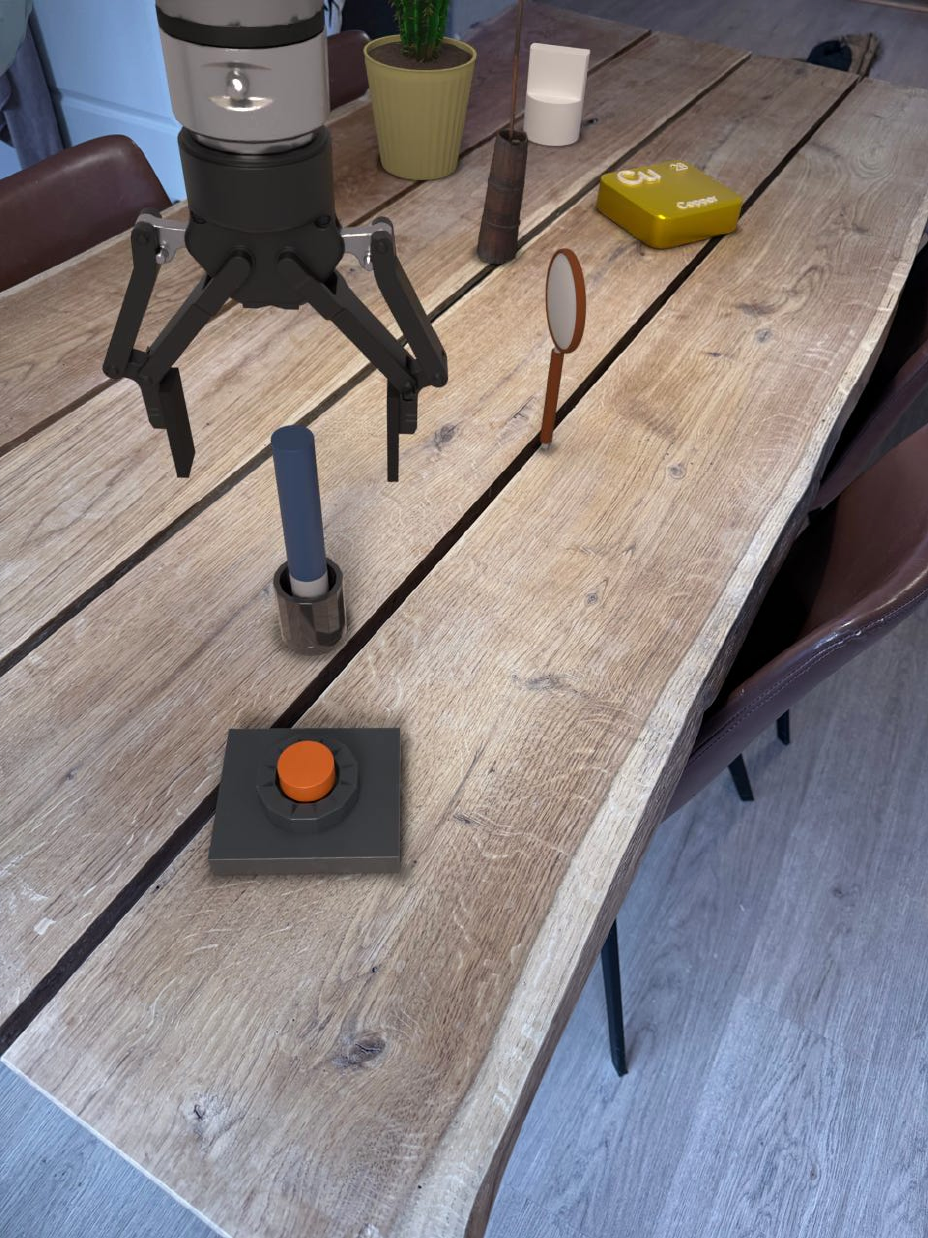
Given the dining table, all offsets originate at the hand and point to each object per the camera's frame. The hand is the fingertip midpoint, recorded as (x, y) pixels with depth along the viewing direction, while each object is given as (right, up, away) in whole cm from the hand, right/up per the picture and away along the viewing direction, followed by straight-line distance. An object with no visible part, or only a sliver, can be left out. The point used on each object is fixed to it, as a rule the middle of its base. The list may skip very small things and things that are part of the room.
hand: (290, 467), depth 60 cm
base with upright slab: (+25, +67, +84) cm, 111 cm away
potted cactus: (+5, +57, +74) cm, 94 cm away
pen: (0, -10, +12) cm, 16 cm away
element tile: (+39, +45, +66) cm, 89 cm away
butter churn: (+16, +36, +56) cm, 68 cm away
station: (+1, -23, +2) cm, 23 cm away
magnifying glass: (+20, +7, +30) cm, 36 cm away
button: (+1, -21, -1) cm, 21 cm away
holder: (-1, -11, +12) cm, 17 cm away
